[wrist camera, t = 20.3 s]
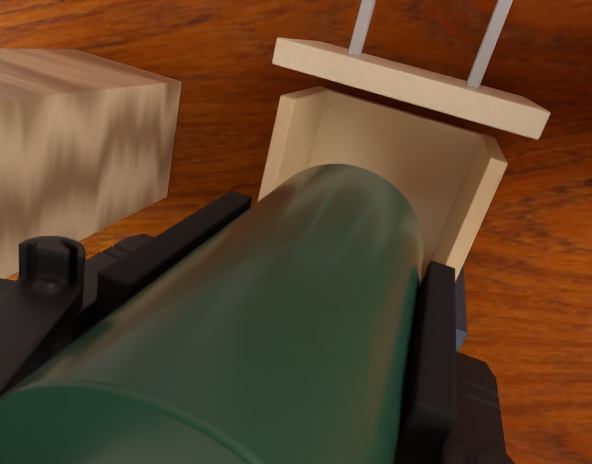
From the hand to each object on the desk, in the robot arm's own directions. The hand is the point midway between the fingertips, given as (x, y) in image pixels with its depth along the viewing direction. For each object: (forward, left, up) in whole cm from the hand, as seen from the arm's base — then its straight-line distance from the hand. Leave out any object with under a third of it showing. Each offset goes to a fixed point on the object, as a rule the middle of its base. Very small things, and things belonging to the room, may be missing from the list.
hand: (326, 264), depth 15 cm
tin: (0, 0, -2) cm, 2 cm away
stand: (+4, -20, -17) cm, 27 cm away
